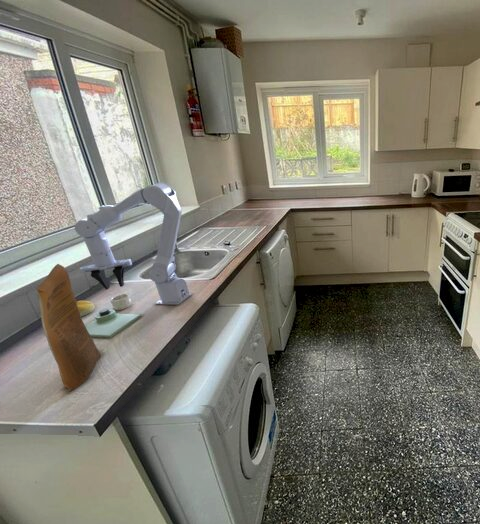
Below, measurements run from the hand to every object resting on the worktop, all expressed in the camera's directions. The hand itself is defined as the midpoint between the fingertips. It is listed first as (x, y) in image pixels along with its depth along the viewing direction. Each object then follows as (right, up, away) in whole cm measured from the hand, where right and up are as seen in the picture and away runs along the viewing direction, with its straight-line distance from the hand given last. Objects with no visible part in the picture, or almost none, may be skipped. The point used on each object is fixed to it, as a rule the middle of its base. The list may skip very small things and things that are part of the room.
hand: (115, 286), depth 105 cm
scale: (+5, -12, -9) cm, 16 cm away
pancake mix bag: (+15, -20, -28) cm, 37 cm away
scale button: (+1, -9, -6) cm, 11 cm away
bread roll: (-13, -10, 0) cm, 16 cm away
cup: (0, -8, +3) cm, 8 cm away
